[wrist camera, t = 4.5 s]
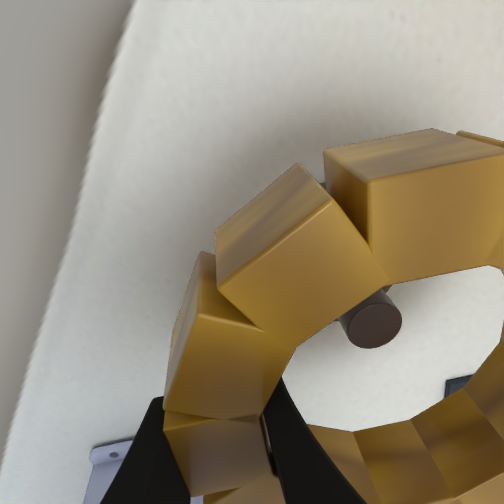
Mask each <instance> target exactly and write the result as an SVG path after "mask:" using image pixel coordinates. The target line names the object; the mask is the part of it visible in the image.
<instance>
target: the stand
mask: <svg viewBox="0 0 504 504" xmlns="http://www.w3.org/2000/svg"><path fill="white" fill-rule="evenodd" d="M320 185H321V186H322V187H323V188H324V189H325V190H326V183H321V184H320ZM391 286H392V285H388V286H383V287H382V288H380V289H379V290H377V291H376V292H375V293H373V294H372V295H370V296H369V297H367V298H366V299H365V300H363V301H362V302H360V303H359V304H357V305H356V306H355V307H353V308H352V309H350V310H349V311H347V312H346V313H345V314H343V315H342V316H340V317H339V318H337V319H336V320H334V321H340V323H341V325H342V327H343V329H344V331H345V333H346V335H347V337H348V339H349V340H350V341H351V342H352V343H353V344H354V345H356V346H358V347H360V348H365V349H371V348H377V347H380V346H383V345H385V344H386V343H388V342H390V341H391V340H392V339H393V338H394V337H395V336H396V335H397V334H398V332H399V330H400V328H401V325H402V317H401V313H400V311H399V310H398V308H397V307H396V306H395V305H394V303H393V302H392V301H391V300H390V298H389V297H388V296H387V295H386V292H387V291H388V290H389V289H390V287H391ZM334 321H333V322H334Z"/></svg>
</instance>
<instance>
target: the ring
mask: <svg viewBox="0 0 504 504" xmlns="http://www.w3.org/2000/svg"><path fill="white" fill-rule="evenodd" d="M323 156H324V168H325V181H326V190H325V189H324V188H323V187H322V186H321V185H320V184H319V183H318V182H317V180H316V179H315V178H314V177H313V176H312V175H311V174H310V173H309V172H308V171H307V170H306V169H305V168H304V167H303V166H302V165H301V164H300V163H296V164H295V165H293V166H292V167H291V168H290V169H288V170H287V171H286V172H285V173H284V174H282V175H281V176H280V177H279V178H278V179H276V180H275V181H274V182H273V183H272V184H270V185H269V186H268V187H267V188H266V189H264V190H263V191H262V192H261V193H260V194H258V195H257V196H256V197H255V198H254V199H252V200H251V201H250V202H249V203H248V204H246V205H245V206H244V207H243V208H242V209H240V210H239V211H238V212H237V213H236V214H234V215H233V216H232V217H231V218H230V219H228V220H227V221H226V222H225V223H224V224H222V225H221V226H220V227H219V228H217V229H216V230H215V232H214V234H215V255H214V254H210V253H206V252H203V251H201V252H200V253H199V255H198V258H197V260H196V263H195V266H194V269H193V272H192V275H191V278H190V281H189V284H188V287H187V290H186V293H185V296H184V299H183V301H182V304H181V307H180V310H179V313H178V316H177V319H176V322H175V325H174V328H173V332H172V339H171V347H170V354H169V362H168V369H167V377H166V385H165V392H164V400H163V410H165V417H164V425H163V432H164V434H165V437H166V439H167V441H168V444H169V446H170V449H171V451H172V453H173V456H174V458H175V460H176V463H177V465H178V467H179V470H180V472H181V475H182V477H183V479H184V482H185V484H186V486H187V489H188V491H189V493H190V496H191V497H197V496H202V495H203V504H286V503H285V500H284V496H283V492H282V488H281V485H280V481H279V477H278V473H277V470H276V466H275V462H274V459H273V454H272V450H271V446H270V441H269V437H268V432H267V428H266V424H265V419H264V415H263V410H264V409H265V407H266V405H267V403H268V401H269V399H270V397H271V395H272V393H273V391H274V389H275V387H276V385H277V384H278V382H279V380H280V378H281V376H282V374H283V372H284V370H285V368H286V366H287V364H288V362H289V360H290V359H291V357H292V355H293V353H294V351H295V349H296V347H297V346H299V345H300V344H302V343H303V342H304V341H306V340H307V339H309V338H310V337H312V336H313V335H314V334H316V333H317V332H319V331H320V330H322V329H323V328H324V327H326V326H327V325H329V324H330V323H332V322H333V321H334V320H336V319H337V318H339V317H340V316H342V315H343V314H345V313H346V312H347V311H349V310H350V309H352V308H353V307H355V306H356V305H357V304H359V303H360V302H362V301H363V300H365V299H366V298H367V297H369V296H370V295H372V294H373V293H375V292H376V291H377V290H379V289H380V288H382V287H383V286H388V285H393V284H398V283H403V282H408V281H413V280H417V279H422V278H427V277H432V276H437V275H442V274H447V273H452V272H457V271H462V270H467V269H472V268H476V267H481V266H486V265H489V266H492V267H495V268H498V269H500V270H501V271H502V273H503V275H504V141H500V140H496V139H493V138H489V137H485V136H481V135H477V134H473V133H469V132H465V131H458V132H457V133H456V135H455V134H451V133H447V132H444V131H440V130H437V129H433V128H430V129H425V130H420V131H415V132H410V133H405V134H400V135H395V136H389V137H384V138H379V139H374V140H369V141H364V142H359V143H354V144H348V145H343V146H338V147H333V148H328V149H326V150H324V153H323ZM307 425H308V427H309V428H310V430H311V431H312V433H313V435H314V436H315V438H316V439H317V440H318V442H319V443H320V445H321V446H322V448H323V449H324V450H325V452H326V453H327V454H328V456H329V457H330V458H331V460H332V461H333V462H334V464H335V465H336V466H337V468H338V469H339V470H340V471H341V473H342V474H343V475H344V477H345V478H346V479H347V480H348V481H349V483H350V484H351V485H352V486H353V487H354V489H355V490H356V491H357V492H358V493H359V495H360V496H361V497H362V498H363V499H364V500H365V501H366V503H367V504H504V322H503V328H502V333H501V339H500V342H499V344H498V345H497V346H496V347H495V349H494V350H493V351H492V352H491V354H490V355H489V356H488V357H487V359H486V360H485V361H484V363H483V364H482V365H481V366H480V368H479V369H478V370H477V371H476V373H475V374H474V375H473V376H472V378H471V379H470V380H469V381H468V383H467V384H466V385H465V386H464V387H463V388H462V389H460V390H458V391H457V392H455V393H453V394H452V395H450V396H448V397H447V398H445V399H443V400H441V401H440V402H438V403H436V404H435V405H433V406H431V407H430V408H428V409H426V410H425V411H423V412H421V413H420V414H418V415H416V416H415V417H413V418H411V419H410V420H406V421H401V422H397V423H392V424H387V425H382V426H378V427H373V428H368V429H363V430H359V431H354V432H351V431H345V430H339V429H333V428H327V427H322V426H316V425H310V424H307Z"/></svg>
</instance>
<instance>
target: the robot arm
mask: <svg viewBox="0 0 504 504" xmlns="http://www.w3.org/2000/svg"><path fill="white" fill-rule="evenodd" d="M163 400H164V396H161V397H157V398H154V399H153V400H152V401H151V403H150V405H149V408H148V410H147V412H146V414H145V417H144V419H143V421H142V423H141V425H140V427H139V430H138V432H137V434H136V436H135V438H134V440H130V441H126V442H121V443H116V444H112V445H107V446H102V447H98V448H94V449H93V450H91V452H90V455H89V460H90V461H91V463H92V465H93V468H92V472H91V476H90V479H89V483H88V486H87V490H86V494H85V497H84V501H83V504H203V495H202V496H197V497H191V496H190V493H189V491H188V489H187V486H186V484H185V482H184V479H183V477H182V475H181V472H180V470H179V467H178V465H177V463H176V460H175V458H174V456H173V453H172V451H171V449H170V446H169V444H168V441H167V439H166V437H165V434H164V432H163V425H164V417H165V410H163ZM263 415H264V419H265V424H266V428H267V432H268V437H269V441H270V446H271V450H272V454H273V459H274V462H275V466H276V470H277V473H278V477H279V481H280V485H281V488H282V492H283V496H284V500H285V503H286V504H367V503H366V501H365V500H364V499H363V498H362V497H361V496H360V495H359V493H358V492H357V491H356V490H355V489H354V487H353V486H352V485H351V484H350V483H349V481H348V480H347V479H346V478H345V477H344V475H343V474H342V473H341V471H340V470H339V469H338V468H337V466H336V465H335V464H334V462H333V461H332V460H331V458H330V457H329V456H328V454H327V453H326V452H325V450H324V449H323V448H322V446H321V445H320V443H319V442H318V440H317V439H316V438H315V436H314V435H313V433H312V431H311V430H310V428H309V427H308V425H307V424H306V422H305V421H304V419H303V418H302V416H301V414H300V413H299V411H298V409H297V408H296V406H295V404H294V402H293V400H292V399H291V397H290V395H289V393H288V391H287V389H286V386H285V384H284V382H283V379H282V376H281V378H280V380H279V382H278V384H277V385H276V387H275V389H274V391H273V393H272V395H271V397H270V399H269V401H268V403H267V405H266V407H265V409H264V410H263Z"/></svg>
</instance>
